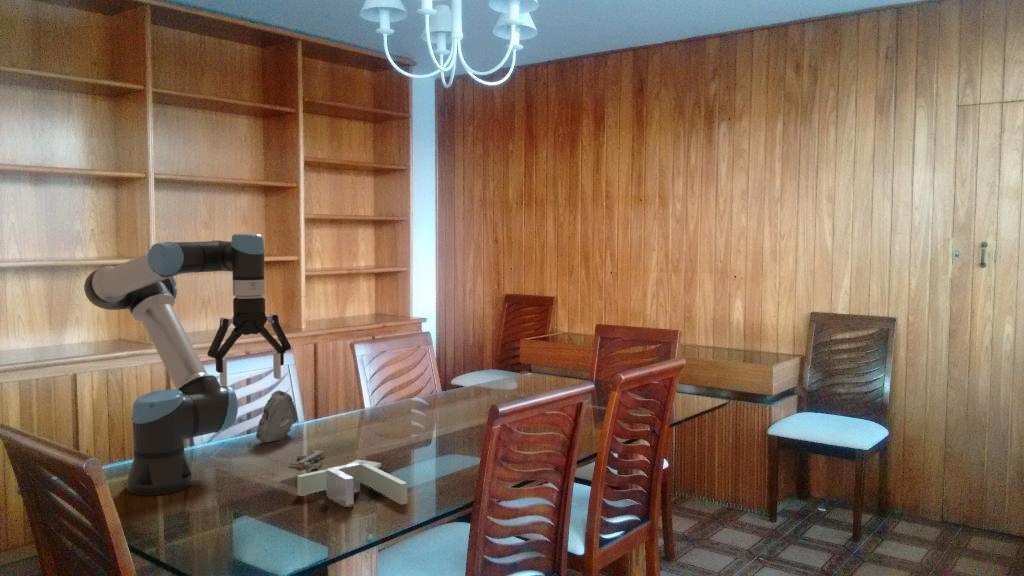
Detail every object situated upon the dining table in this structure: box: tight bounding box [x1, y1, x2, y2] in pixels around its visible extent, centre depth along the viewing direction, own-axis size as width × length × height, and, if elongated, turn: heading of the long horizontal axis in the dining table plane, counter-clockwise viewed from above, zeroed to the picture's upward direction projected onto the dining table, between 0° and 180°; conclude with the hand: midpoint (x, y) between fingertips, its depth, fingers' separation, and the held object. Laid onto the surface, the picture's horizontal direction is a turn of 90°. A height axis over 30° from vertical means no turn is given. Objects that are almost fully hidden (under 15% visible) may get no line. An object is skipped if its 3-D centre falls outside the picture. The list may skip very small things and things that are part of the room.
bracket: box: [325, 463, 361, 506], centre depth 193 cm, size 10×8×7 cm
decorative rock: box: [255, 389, 299, 443], centre depth 243 cm, size 16×7×15 cm, turn 158°
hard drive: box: [345, 459, 382, 469], centre depth 215 cm, size 2×8×12 cm
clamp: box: [288, 449, 325, 474], centre depth 220 cm, size 15×2×10 cm
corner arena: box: [296, 462, 408, 506], centre depth 193 cm, size 18×21×5 cm
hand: (251, 381), depth 199 cm, fingers open, 13 cm apart
